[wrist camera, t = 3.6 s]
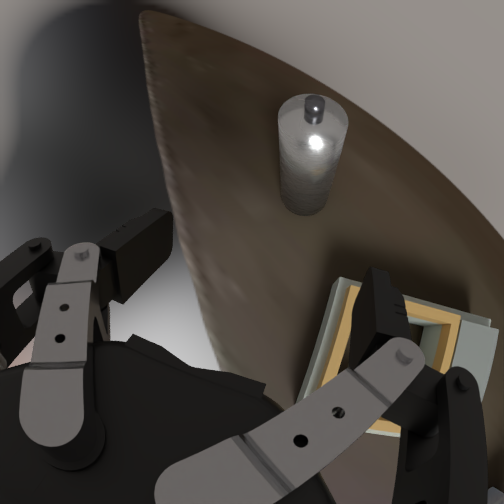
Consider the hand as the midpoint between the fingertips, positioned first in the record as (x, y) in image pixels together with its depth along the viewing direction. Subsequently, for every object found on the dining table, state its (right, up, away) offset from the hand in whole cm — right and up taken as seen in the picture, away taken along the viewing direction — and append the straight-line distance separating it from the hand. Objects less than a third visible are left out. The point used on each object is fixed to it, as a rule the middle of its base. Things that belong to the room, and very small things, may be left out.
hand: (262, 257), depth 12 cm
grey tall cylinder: (+4, +6, +16) cm, 18 cm away
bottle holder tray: (+12, -10, +11) cm, 19 cm away
